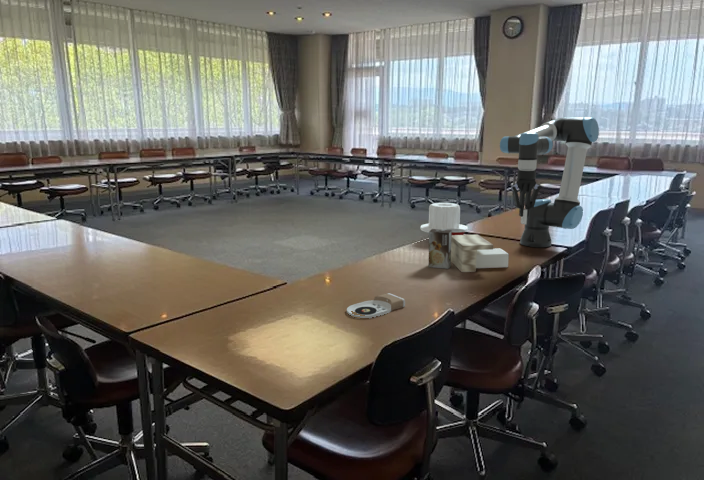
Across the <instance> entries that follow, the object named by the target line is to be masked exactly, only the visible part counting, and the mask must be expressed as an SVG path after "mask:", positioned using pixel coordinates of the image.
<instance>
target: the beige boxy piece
mask: <svg viewBox="0 0 704 480" xmlns="http://www.w3.org/2000/svg"><path fill="white" fill-rule="evenodd" d="M493 248H494V244H493V243H491V242H490V241H488V240H487V239H485V238H483V237H482V236H481V235H480V234H464V235H452V236H451V264H453V266H455V267H456V268H457V269H458V270H459V271H460V272H462V273H470V272H471V273H475V272H476V271H477V268H476V256H477V250H490V249H493Z"/></svg>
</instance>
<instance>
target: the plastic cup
mask: <svg viewBox="0 0 704 480" xmlns="http://www.w3.org/2000/svg"><path fill="white" fill-rule="evenodd" d="M443 230H452V235H465V233H466V232H465V230H464V229H443Z"/></svg>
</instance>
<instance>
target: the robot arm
mask: <svg viewBox="0 0 704 480" xmlns="http://www.w3.org/2000/svg"><path fill="white" fill-rule="evenodd" d="M599 129H600V128H599V124H598V121H597V120H596V118H595V117H590V116H589V117H588V116H574V117H572V116H571V117H565V116H564V117H559V118H555V119H552V120H549V121H546V122H544V123H541V125H540V126H538V127H536V128H533V129H529V130H527V131H525V132H522V133H519V134H515V135H511V136H510V135H509V136H508V135H507V136H503V137H502V138H500V141H499V149H500V151H501V152H502V153H504V154H518V158H517V159H518V161H517V169H518V170H517V174H516V175H517V176H516V177H517V178H516V182H515V184H514V185H511V186H510V190H511V191H512V196H513V200H514V201H513V202H514V206H515V208H517V209H519V210H518V211H519V212H518V216H519V217H520V224H522V225H524V229H523V232H522V235H521V237H520V242H519V243H520V245H522V246H525V247H529V248H548V247H551V246H552V243H553V242H552V237H551V234H550V227H554V228H559V229H565V230H573V229H576V228H578V226H579V225H580V223H581V221H582V219H583V214H584V212H583V211H584V209H583V208H584V207H582V206H581V205H580V204H581V202H580V200H579V199H578V197H579V193H580V188H581V183H582V178H583V172H584V168H585V163H586V157H587V151H588V150H589V149H590V148H591V147H592V145H593V143H595V142H597V141H598V138H599V136H600V130H599ZM553 142H565V146H567V152H566V156H565V162H564V166H563V167H564V168H563V172H562V173H563V174H562V177H561V183H560V186H559V188H560V189H559V194H558V196H556V197H555V198H554V201H553V202H552V199H549V198H542V199H541V198H540V199H538V198H537V197H538V194H539V192H540V190H541V188H542V186H541V185H539V184H538V183H537V181H536V177H537V170H536V169H537V164H538V163H537V162H538V155H546V154H549V153H550V152H551V151H552V150H553V146H554V144H553ZM518 190H519V193H518ZM532 190H533V191H532Z"/></svg>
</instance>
